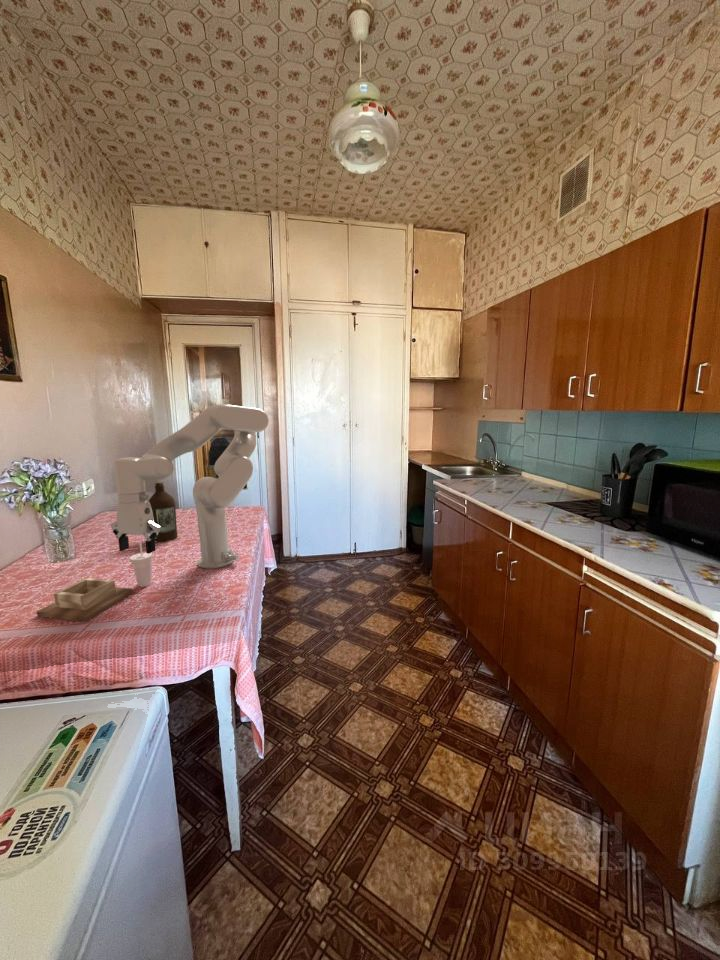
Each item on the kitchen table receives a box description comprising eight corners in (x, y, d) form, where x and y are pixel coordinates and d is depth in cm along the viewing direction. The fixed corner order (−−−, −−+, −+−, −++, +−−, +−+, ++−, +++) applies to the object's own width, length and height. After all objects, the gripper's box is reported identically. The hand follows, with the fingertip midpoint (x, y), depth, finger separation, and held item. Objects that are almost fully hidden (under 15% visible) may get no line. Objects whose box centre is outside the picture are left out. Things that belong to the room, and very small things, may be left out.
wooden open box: (133, 593, 115) (130, 576, 114) (86, 622, 100) (83, 603, 99) (89, 589, 119) (86, 573, 118) (37, 616, 103) (33, 598, 102)
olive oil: (148, 538, 165) (141, 482, 160) (174, 533, 172) (168, 479, 167) (156, 544, 157) (149, 486, 153) (182, 538, 165) (176, 482, 160)
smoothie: (140, 590, 117) (134, 548, 114) (129, 585, 120) (123, 544, 118) (160, 582, 122) (155, 541, 120) (149, 578, 126) (144, 538, 123)
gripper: (165, 496, 118) (170, 548, 121) (118, 494, 121) (123, 545, 124) (147, 501, 111) (153, 557, 113) (98, 499, 114) (104, 553, 117)
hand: (137, 550), depth 119 cm, fingers open, 9 cm apart
